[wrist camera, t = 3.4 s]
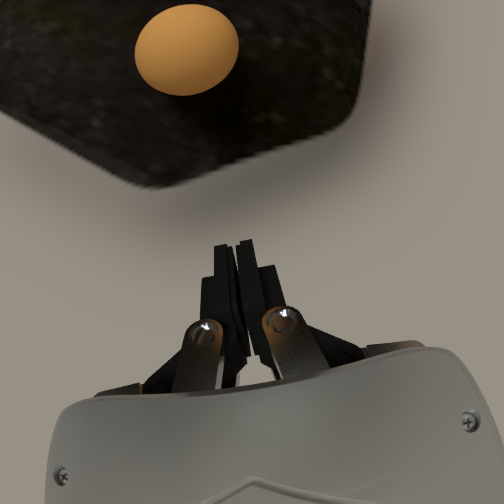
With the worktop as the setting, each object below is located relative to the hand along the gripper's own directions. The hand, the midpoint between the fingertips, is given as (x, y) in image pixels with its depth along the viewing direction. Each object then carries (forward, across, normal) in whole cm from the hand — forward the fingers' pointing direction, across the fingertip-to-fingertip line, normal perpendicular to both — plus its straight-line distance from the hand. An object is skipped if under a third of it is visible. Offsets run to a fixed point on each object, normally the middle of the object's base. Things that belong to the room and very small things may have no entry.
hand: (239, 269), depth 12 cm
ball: (+4, +1, -10) cm, 11 cm away
